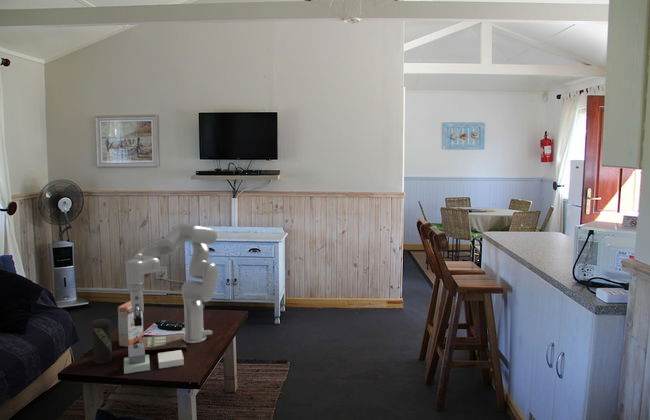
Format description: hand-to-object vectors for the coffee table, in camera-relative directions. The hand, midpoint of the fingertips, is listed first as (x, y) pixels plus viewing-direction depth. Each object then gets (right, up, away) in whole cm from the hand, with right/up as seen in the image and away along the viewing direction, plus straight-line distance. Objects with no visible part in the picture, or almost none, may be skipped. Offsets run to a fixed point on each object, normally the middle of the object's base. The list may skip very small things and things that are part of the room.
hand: (138, 322), depth 231 cm
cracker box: (-14, -17, +30) cm, 37 cm away
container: (-19, -20, +7) cm, 29 cm away
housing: (0, -18, 0) cm, 18 cm away
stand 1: (-1, -21, 0) cm, 21 cm away
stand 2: (+13, -20, +6) cm, 25 cm away
